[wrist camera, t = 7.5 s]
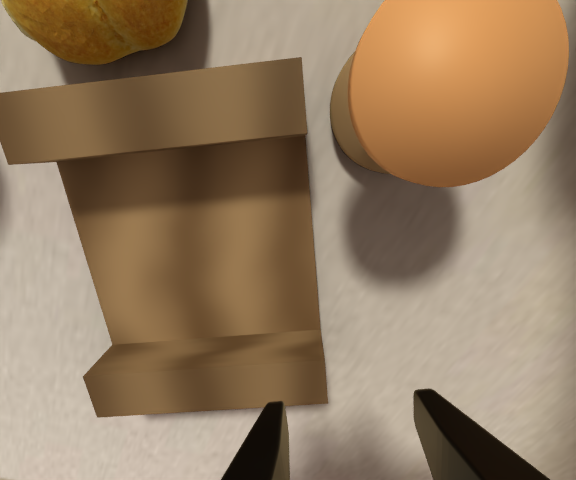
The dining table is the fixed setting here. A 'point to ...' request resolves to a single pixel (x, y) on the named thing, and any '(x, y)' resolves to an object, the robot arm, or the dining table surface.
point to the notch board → (188, 231)
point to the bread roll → (97, 26)
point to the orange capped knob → (450, 87)
